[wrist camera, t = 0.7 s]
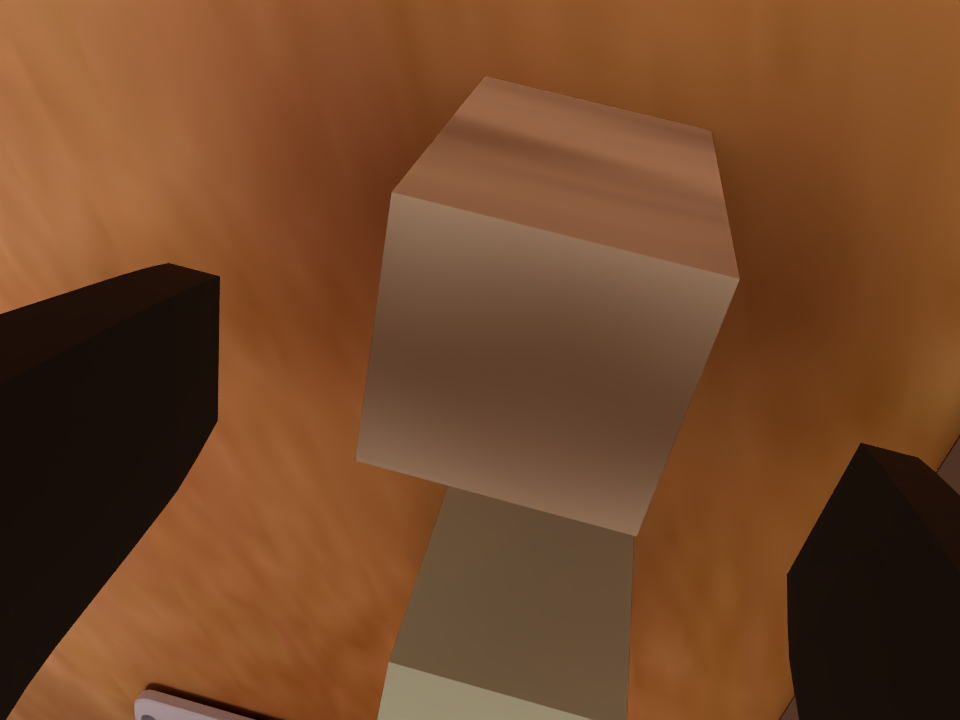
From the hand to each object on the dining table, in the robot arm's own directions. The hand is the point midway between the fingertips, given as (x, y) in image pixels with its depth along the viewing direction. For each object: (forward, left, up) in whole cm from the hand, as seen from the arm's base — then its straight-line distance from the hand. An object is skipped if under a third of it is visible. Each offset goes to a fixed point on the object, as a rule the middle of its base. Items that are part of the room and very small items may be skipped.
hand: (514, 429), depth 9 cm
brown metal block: (0, 0, -7) cm, 7 cm away
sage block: (-8, -1, -7) cm, 11 cm away
